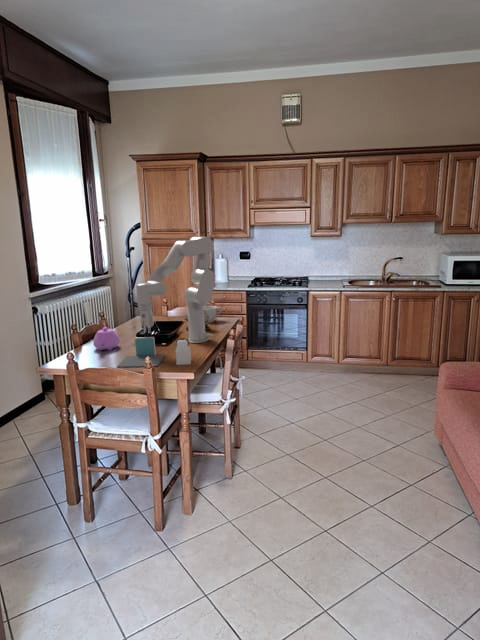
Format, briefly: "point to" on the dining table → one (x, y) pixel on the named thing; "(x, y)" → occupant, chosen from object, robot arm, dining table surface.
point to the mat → (140, 361)
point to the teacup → (211, 312)
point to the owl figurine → (204, 320)
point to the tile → (145, 346)
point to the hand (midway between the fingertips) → (148, 339)
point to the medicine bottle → (183, 352)
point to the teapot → (106, 339)
